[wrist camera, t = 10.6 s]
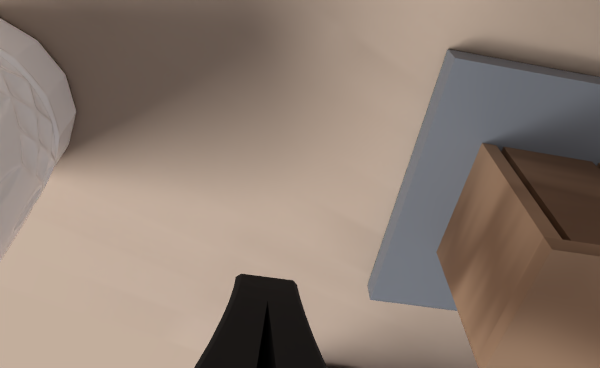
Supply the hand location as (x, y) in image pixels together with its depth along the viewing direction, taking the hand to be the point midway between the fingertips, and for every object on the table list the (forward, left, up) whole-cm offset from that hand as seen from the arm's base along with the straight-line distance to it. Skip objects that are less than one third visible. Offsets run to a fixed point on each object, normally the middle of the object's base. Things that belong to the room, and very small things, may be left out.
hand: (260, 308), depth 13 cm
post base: (-2, -11, -10) cm, 15 cm away
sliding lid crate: (-2, -11, -9) cm, 15 cm away
